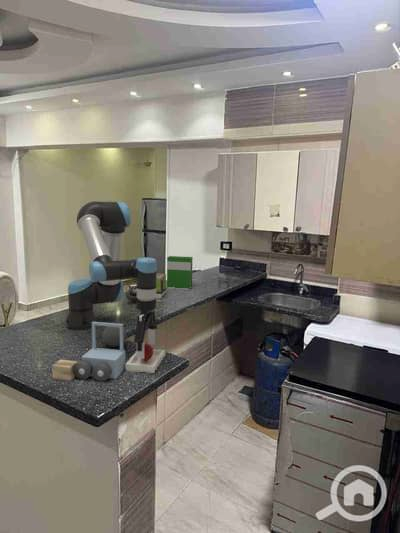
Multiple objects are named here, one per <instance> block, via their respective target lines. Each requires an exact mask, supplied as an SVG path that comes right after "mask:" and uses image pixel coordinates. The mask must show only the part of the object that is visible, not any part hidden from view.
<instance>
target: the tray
mask: <svg viewBox="0 0 400 533" xmlns="http://www.w3.org/2000/svg"><path fill="white" fill-rule="evenodd" d="M152 349H153V356H152V357H151V358H150V359H149V360H148V361H147V362H145V361H143V360H141V359H137V350H136V351H135V353H134V354H133V355H131V357H130V358H129V359H128V360H127V362H125V372H133V373H139V372H147V373H146V374H149V373H154V372H155V370H156V369H157V367H158V366H159V367H160V365H161V364H162V362H163V361H164V359H165V358H166V349H157V348H152ZM164 357H165V358H164ZM163 358H164V359H163ZM162 360H163V361H162ZM161 361H162V362H161ZM160 363H161V364H160ZM159 364H160V365H159ZM159 367H158V368H159ZM157 370H158V369H157ZM157 370H156V371H157ZM155 373H156V372H155ZM155 373H154V374H155Z"/></svg>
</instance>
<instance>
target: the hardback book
mask: <svg viewBox="0 0 400 533" xmlns="http://www.w3.org/2000/svg"><path fill="white" fill-rule="evenodd" d="M193 258H194V257H193V256H180V255H179V256H177V255H176V256H175V255H169V256H167V258H166V261H167V262H166V263H167V264H166V266H167V267H166V268H167V270H166V288H167V287H175V288H188V289H190V290H191V288H190V287H192V288H193Z"/></svg>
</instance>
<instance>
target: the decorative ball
mask: <svg viewBox="0 0 400 533" xmlns="http://www.w3.org/2000/svg"><path fill="white" fill-rule="evenodd" d="M126 336H127V332H126V329H125V327H123V343H124V342H125V340H126V338H127V337H126ZM102 341H104V343H105V344H106V345H107V347H108V346H109V347H111V348H112V347H113V348H117V347H120V327H109V326H105V328H104V330H103V331H102Z"/></svg>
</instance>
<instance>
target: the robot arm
mask: <svg viewBox="0 0 400 533" xmlns="http://www.w3.org/2000/svg"><path fill="white" fill-rule="evenodd" d="M131 219H132V218H131V213H130V209H129V206H128V204H127V203H125V202H122V201H121V202H120V201H96V200H95V201H89V202H87V203H85V204H84V205H83V206H81V208H80V209H79V210H78V212H77V215H76V225H77V228H78V229H79V231H81V232H82V235H83V238H84V241H85V244H86V247H87V251H88V253H89V256H90V260H91V262H90V263H89V266H88V271H89V272H88V273H89V278H81V279H75V280H73V281H71V282H69V284H68V287H67V294H68V314H67V315H66V316H67V317H66V320H65V328H66V329H68V330H73V331H81V330H84V331H85V330H90V329H92V322H98V319H97V317H96V314H95V312H94V305H98V304H99V305H100V304H106V303H107V304H108V303H111V304H112V303H116V302H120V301H121V299H122V298H123V295H124V283H123V280H133V279H134V280H135V281H136V282H135V283H136V285H135V286H136V290H135V291H136V292H137V298H138V299H137V300H136V305H135V306H136V310H138V311H140V314H139V315H137V321H136V327H135V334H134V339H133V342H134V343H136V351H137V359H144V343H145V335H146V331H147V342H148V343H147V344H148V345H150V346H155V345H156V344H155V343H156V342H155V339H156V330H157V329H158V326H157V325H158V324H157V319H156V313H155V309H157V299H155V298H156V276H157V274H158V273H157V270H158V267H157V260H156V259H155V258H153V257H138V258H135V257H133V258H130V259H125V260H122V259H121V260H120V255H121V245H122V235H123V234H124V233H125V232H126V228H128V227H130V226H131V221H132V220H131ZM95 326H97V325H95ZM147 328H148V329H147Z"/></svg>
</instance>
